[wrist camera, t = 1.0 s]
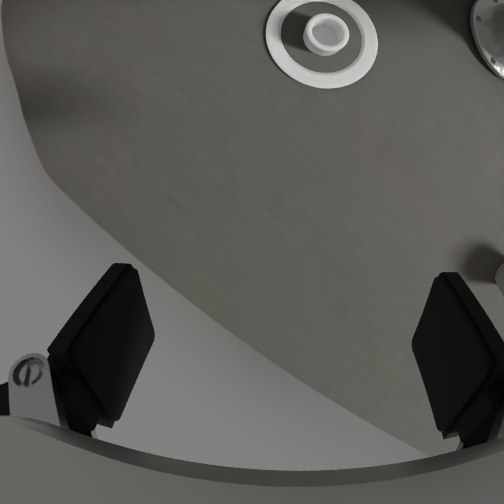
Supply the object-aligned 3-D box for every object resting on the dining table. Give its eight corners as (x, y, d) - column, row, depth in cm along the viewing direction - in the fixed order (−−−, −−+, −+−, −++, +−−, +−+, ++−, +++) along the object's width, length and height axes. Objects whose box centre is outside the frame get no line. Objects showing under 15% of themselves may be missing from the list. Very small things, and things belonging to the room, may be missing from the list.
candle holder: (274, -17, 23) (272, -31, 19) (381, 7, 23) (393, -3, 19) (258, 77, 29) (255, 75, 25) (366, 100, 29) (378, 101, 25)
